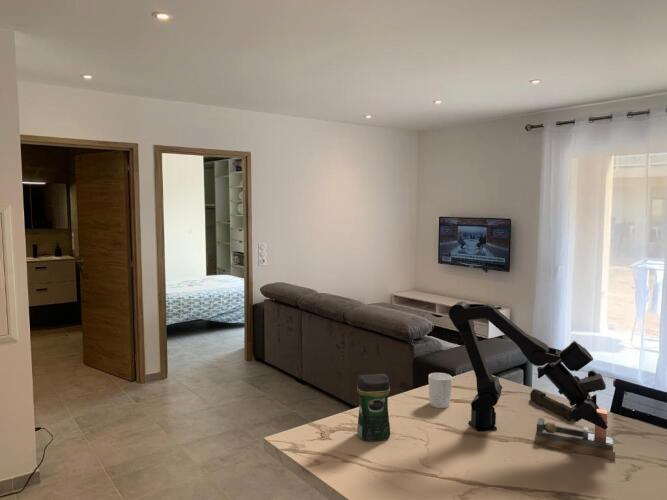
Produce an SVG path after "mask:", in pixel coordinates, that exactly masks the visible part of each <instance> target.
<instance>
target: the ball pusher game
mask: <svg viewBox="0 0 667 500" xmlns="http://www.w3.org/2000/svg"><path fill="white" fill-rule="evenodd" d="M545 424H546V423H545V418H543V417H538V418H537V423H536V431H535V434H534V435H535V436H534V444H537V445H541V446H546V447H551V448H556V449H562V450H565V451H571V452H576V453H581V454H586V455H590V456H595V457H600V458H605V459H611V460H615V459H616V446H615V438H613V435H609V434H606V436H607V437H612V441H613V445H612V444H607V443H601V442H596V441H591V440H586V439H583V430H584V429H583V430H582V429H577V428H572V427H566V426H561V425H556V432H555V433H549V432H546V430H545ZM588 433H590V434H595V431H594V432H593V431H588Z"/></svg>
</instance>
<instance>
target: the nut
mask: <svg viewBox="0 0 667 500" xmlns="http://www.w3.org/2000/svg"><path fill="white" fill-rule="evenodd" d="M556 426H557V425H556V424H555V423H554V422H552V421H548V422H546V423H545V430H546V432H549V433H555V432H556Z"/></svg>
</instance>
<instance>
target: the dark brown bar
mask: <svg viewBox="0 0 667 500" xmlns="http://www.w3.org/2000/svg"><path fill="white" fill-rule="evenodd" d="M529 395H530V396H529V398H530V400H531V401H532V402H533V403H535V404H536V405H538V406H539V407H540V406H541V407H545V408H547V409H549V410H551V411H553V412H555V413H557V414H559V415H561V416H562V417H564V418H567V420H568V422H570V421H575V420H574V419H573V418H572V417H571V409H572V407H571V406H568V405H566V404H564V403H563V402H559V401H557V400H555V399H554V398H553V399H552V398H551V397H549V396H547V394H546V393H545V392H543V391H541V390H539V389H535V388H533V389H532V390H531V392H530V394H529Z"/></svg>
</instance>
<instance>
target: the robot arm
mask: <svg viewBox="0 0 667 500" xmlns="http://www.w3.org/2000/svg"><path fill="white" fill-rule="evenodd" d="M448 317H449V319H450V322H452V325H453V326H454V327H455V329H456V330H457V331H458V333H459V335H460V336H461V339H462V341H463V342H462V343H464V347H465V350H466V353H467V356H468V358H469V361H470V364H471V367H472V370H473V372H474V375H475V378H476V379H475V380H476V391H477V394H476V395H475V396H474V397H473V399H472V401H471V403H470V408H471V411H470V412H471V414H470V420H468V424H469V425H470V426H472V428H474V429H475V430H476V431H477V432H485V431H493V430H495V431H496V430H498V428H497V425H496V424H497V423H496V422H497V421H496V418H497V417H496V415H497V412H496V411H495V407H494V406H496V405H497V404H498V402H499V399H500V398H501V396H502V390H503V389H504V388H503V386H502V385H501V383H500V380H499V376H498V375H495V376H494V375H493V374H492V373H491V371H490V370H489V367H488V364H487V362H486V359H485V356H484V353H483V350H482V348H481V344H480V342H479V339H478V336H477V333H476V331H475V325H474V320H480V319H486V320H487V321H489V322H490V323H491V324H492V325H493V326H494V327H495V328H497V329H498V330H499V331H500V332H501V333H502V334H504V335H505V337H507V338H508V339H509V340H511V341H512V342H513V343H514V344H515V345H516V346H517V347H518V349H520V351H521V353H522V354H523V356H524V357H525V358H526V359H527V360H528V361H529V363H531V365H533V366H535V367H537V379H541V378H542V377H543V376H545V377H546V378H547V379H548V380H549V381H550V382H551V383H552V384H553V385H554V386H555V388H556V389H558V390H557V392H558V393H559V394H560V395H563V396H564V397H565V399H567V400H568V401H569V403H568V404H569V406H570V407H571V408H572V409H571V417H572V418H573V419H574V420H573V421H575V422H576V423H577V422H579V421H581V420H584V421H586V422H588V423H591V424H593V425H594V426H595V425H597V426H599V427H601V428H603V429H608V427H609V426H608V425H606V423H605V422H604V420H603V419H602V417H601V416H600V414H599V413H598V412H597V410H596V409H600V407H599V405H598V404H597V394H594V395H592V396H591V394H590V393H592V392H593V393H595V392H596V391H597V392H598V391H605V390H606V389H607V386H606V385H607V384H606V382H605V380H604V377H603V376H602V374H601V373H599V372H598V373H597V371H595V369H593V370H589V371H587V376H584V377H583V378H580V377H579V376H577V375H573V373H572V372H579V371H580V370H581V369H583V368H584V367H586V366H587V365H588V364H590V363H591V362H592V361H594V357H593V356H592V354H591V353H590V351H588V350H587V348H585V347H583V346H582V345H581V344H579V343H578V342H577V341H576V340H573V341H572V342H570V343H569V345H567V346H566V347H565V348H564V349H559V348H555V347H550V346H548V344H546V343H545V342H543V341H541V340H539V339H538V338H537V337H534V336H532V335H530V334H528V333H526V332H525V331H524V330H523V329H521V328H520V327H519V326H517V325H516V323H514V322H513V321H512V320H511V319H509V318H508V317H507V316H506V315H505V314H504V313H502V312H501V311H500V310H499V309H498V308H497V307H496V306H495V305H494V304H492V303H484V304H483V303H467V302H466V301H458V302H456V303H455V304H454V305H452V306H451V307H450V308H449V310H448ZM570 371H571V372H570ZM607 424H608V421H607Z"/></svg>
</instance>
